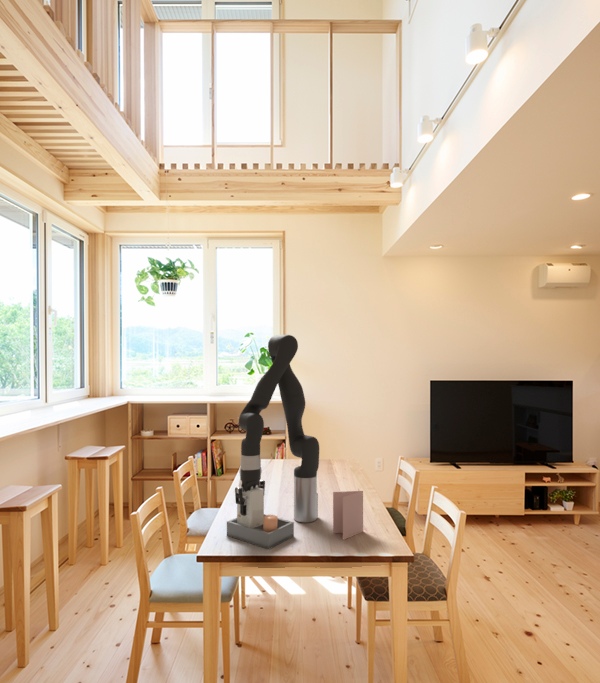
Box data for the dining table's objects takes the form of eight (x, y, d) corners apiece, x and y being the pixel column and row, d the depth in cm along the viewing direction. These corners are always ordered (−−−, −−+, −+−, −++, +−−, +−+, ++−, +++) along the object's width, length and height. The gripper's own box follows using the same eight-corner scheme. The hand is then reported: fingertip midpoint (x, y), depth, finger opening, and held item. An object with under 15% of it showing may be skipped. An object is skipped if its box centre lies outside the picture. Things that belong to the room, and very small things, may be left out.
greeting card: (362, 530, 169) (362, 490, 170) (368, 538, 162) (368, 496, 162) (332, 532, 168) (332, 491, 168) (337, 540, 160) (337, 497, 161)
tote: (252, 524, 175) (252, 511, 176) (293, 536, 164) (293, 522, 164) (226, 535, 164) (226, 521, 164) (268, 549, 152) (268, 534, 153)
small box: (264, 524, 165) (264, 488, 166) (250, 529, 160) (251, 492, 161) (249, 519, 171) (249, 484, 171) (236, 523, 166) (236, 487, 166)
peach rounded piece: (263, 533, 162) (264, 514, 162) (277, 534, 162) (278, 515, 162) (261, 539, 158) (262, 519, 157) (275, 540, 157) (276, 520, 157)
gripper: (256, 461, 174) (255, 505, 174) (229, 468, 163) (228, 515, 162) (270, 464, 170) (270, 509, 169) (244, 472, 158) (244, 520, 158)
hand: (250, 512), depth 166 cm, fingers closed on small box, 6 cm apart
